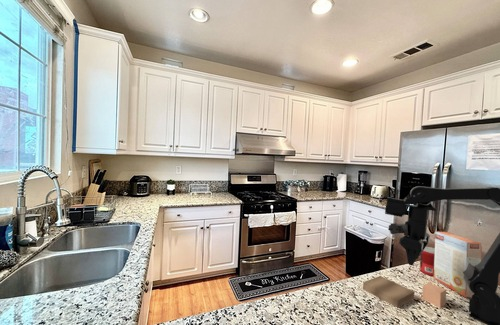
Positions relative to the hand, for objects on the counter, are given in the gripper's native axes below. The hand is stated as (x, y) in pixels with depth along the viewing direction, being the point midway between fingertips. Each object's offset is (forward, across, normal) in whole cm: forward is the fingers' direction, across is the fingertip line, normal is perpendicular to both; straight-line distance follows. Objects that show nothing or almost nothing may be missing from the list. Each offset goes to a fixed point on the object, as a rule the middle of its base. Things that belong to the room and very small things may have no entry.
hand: (413, 261), depth 78 cm
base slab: (+14, +5, -6) cm, 16 cm away
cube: (+12, -3, +6) cm, 14 cm away
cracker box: (+12, -23, +11) cm, 28 cm away
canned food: (+12, -31, +2) cm, 33 cm away
